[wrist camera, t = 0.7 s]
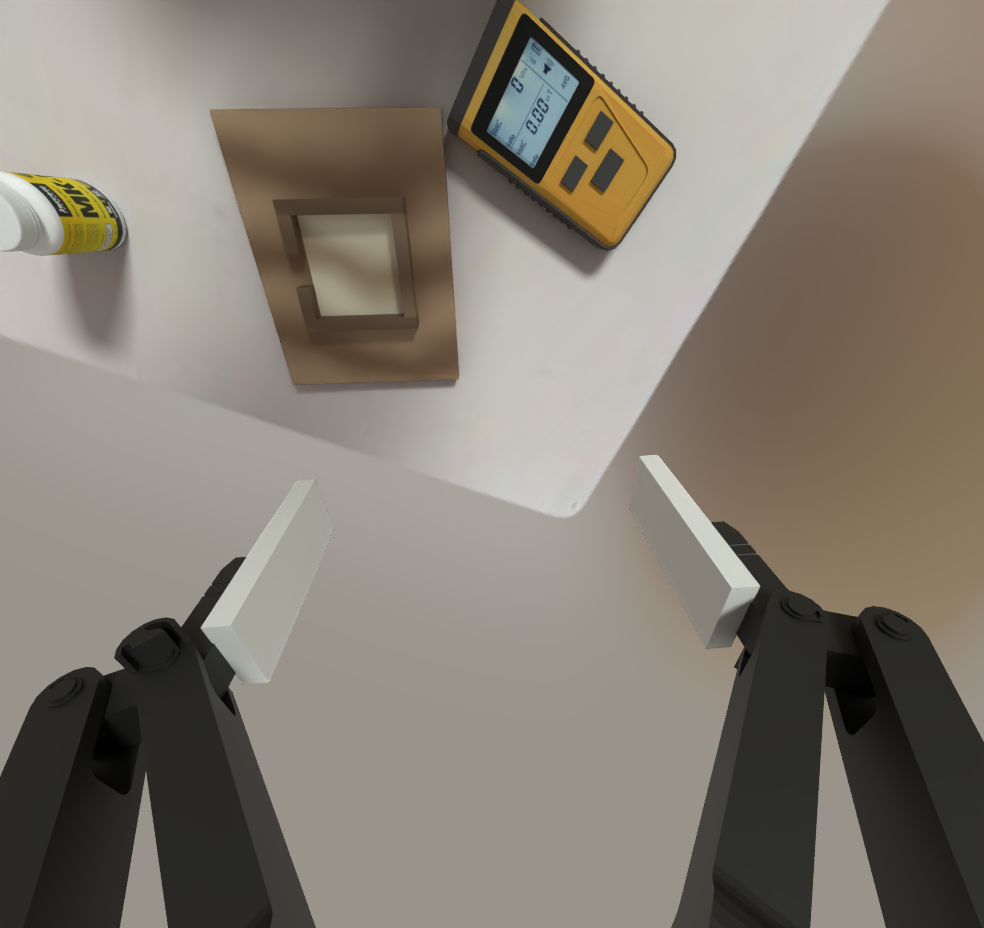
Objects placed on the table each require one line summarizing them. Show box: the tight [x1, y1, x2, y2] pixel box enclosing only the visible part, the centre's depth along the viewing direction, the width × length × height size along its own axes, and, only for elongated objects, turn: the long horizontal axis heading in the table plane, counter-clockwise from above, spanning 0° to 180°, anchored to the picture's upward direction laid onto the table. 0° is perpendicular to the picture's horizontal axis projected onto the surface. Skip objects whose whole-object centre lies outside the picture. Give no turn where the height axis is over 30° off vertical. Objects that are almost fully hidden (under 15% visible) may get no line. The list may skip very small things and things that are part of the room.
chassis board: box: [210, 107, 459, 385], centre depth 32 cm, size 20×16×3 cm
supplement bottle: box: [0, 171, 126, 256], centre depth 27 cm, size 5×5×8 cm
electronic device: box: [447, 0, 676, 251], centre depth 29 cm, size 8×16×3 cm, turn 59°
